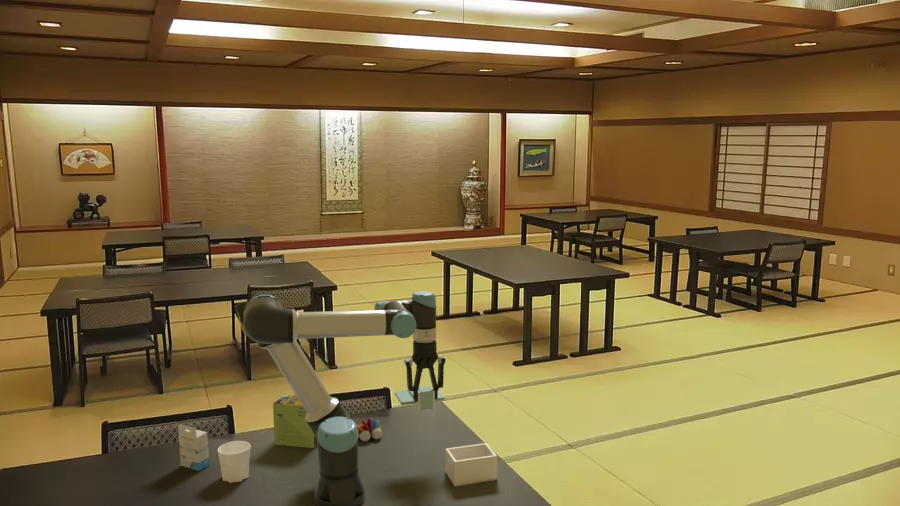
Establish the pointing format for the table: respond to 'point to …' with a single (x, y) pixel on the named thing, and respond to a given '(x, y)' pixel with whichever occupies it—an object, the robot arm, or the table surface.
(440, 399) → the lid
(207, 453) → the ink box
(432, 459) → the table surface
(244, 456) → the cup
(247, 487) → the table surface
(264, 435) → the table surface
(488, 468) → the tub
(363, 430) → the rainbow disc toy
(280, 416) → the protein box
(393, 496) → the table surface
